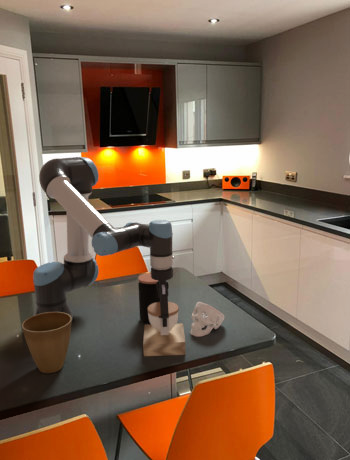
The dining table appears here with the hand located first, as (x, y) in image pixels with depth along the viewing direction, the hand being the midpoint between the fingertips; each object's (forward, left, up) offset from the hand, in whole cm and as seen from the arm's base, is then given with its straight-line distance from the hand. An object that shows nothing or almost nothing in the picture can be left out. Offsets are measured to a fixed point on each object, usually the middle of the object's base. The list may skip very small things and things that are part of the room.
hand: (163, 326), depth 140 cm
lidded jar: (0, 0, -1) cm, 1 cm away
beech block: (0, 0, -7) cm, 7 cm away
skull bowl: (+17, +10, -7) cm, 21 cm away
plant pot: (-37, -9, -7) cm, 39 cm away
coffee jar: (-3, +21, -7) cm, 22 cm away
